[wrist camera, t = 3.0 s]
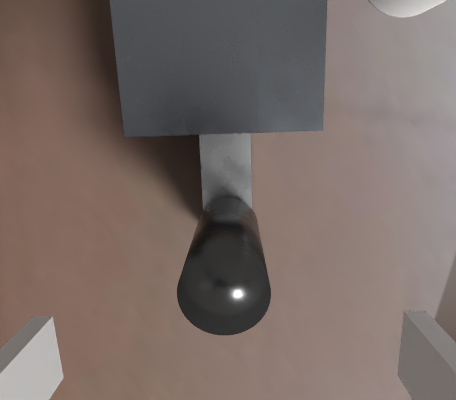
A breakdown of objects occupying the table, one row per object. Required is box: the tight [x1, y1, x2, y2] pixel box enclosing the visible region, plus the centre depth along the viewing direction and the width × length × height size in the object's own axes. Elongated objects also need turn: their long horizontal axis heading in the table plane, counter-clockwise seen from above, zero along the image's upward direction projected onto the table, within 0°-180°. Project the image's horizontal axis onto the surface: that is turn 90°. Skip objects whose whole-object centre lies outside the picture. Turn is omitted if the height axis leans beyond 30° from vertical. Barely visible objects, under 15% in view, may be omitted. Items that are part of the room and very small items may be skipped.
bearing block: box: [110, 0, 327, 137], centre depth 23 cm, size 10×12×8 cm
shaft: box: [177, 133, 271, 335], centre depth 20 cm, size 26×4×14 cm, turn 2°
